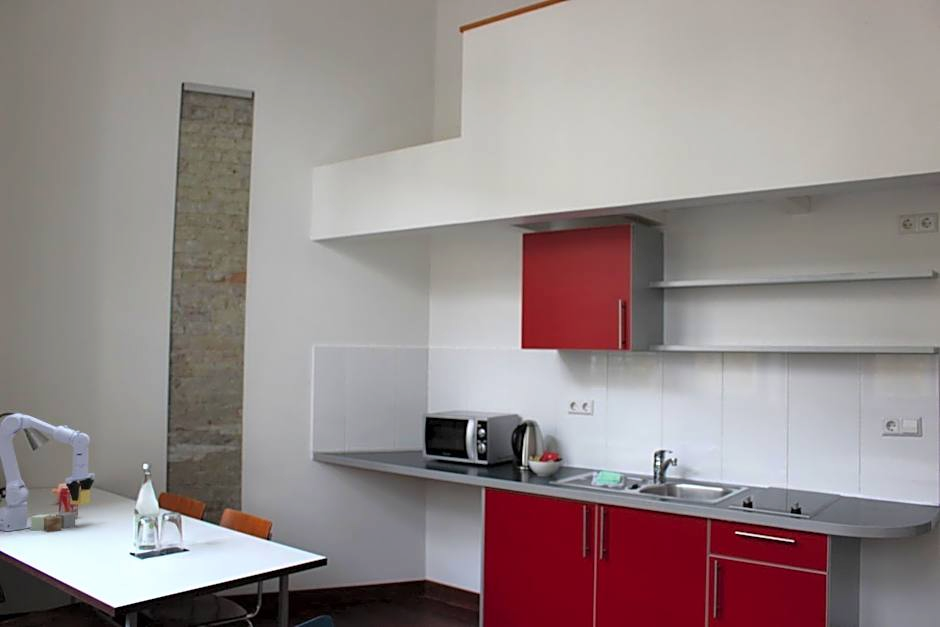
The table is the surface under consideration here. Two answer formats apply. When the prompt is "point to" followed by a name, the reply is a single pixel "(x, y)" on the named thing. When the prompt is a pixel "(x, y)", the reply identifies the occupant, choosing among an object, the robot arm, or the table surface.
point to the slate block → (67, 519)
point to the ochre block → (82, 497)
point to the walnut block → (53, 523)
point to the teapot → (59, 490)
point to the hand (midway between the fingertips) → (79, 499)
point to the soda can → (66, 502)
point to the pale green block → (38, 522)
